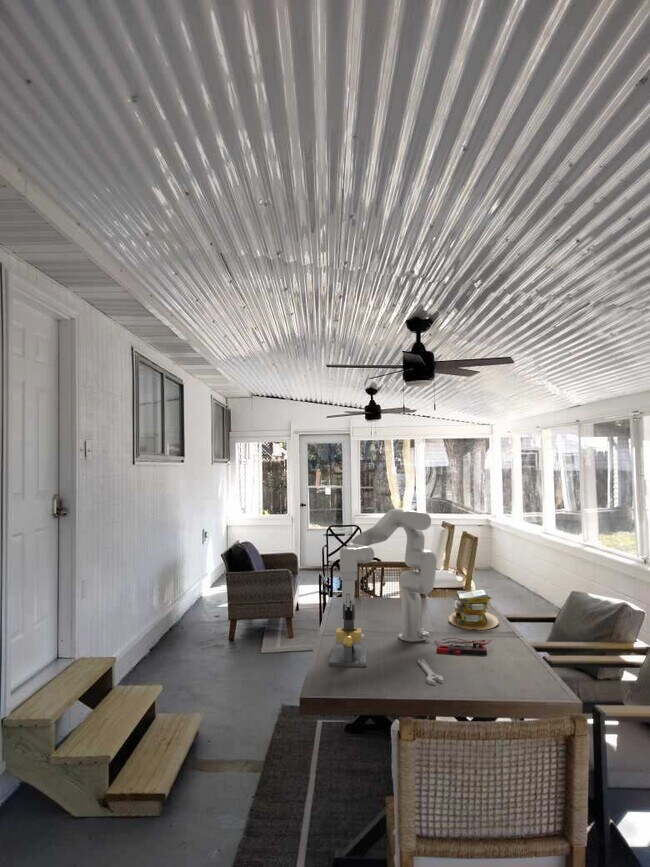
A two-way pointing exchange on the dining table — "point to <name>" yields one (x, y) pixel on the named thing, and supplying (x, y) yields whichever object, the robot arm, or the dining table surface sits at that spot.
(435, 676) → the adjustable wrench
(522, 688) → the dining table surface
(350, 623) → the wedge
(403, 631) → the robot arm
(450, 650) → the digital clamp meter
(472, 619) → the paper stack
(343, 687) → the dining table surface
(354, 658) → the multicoloured piece
